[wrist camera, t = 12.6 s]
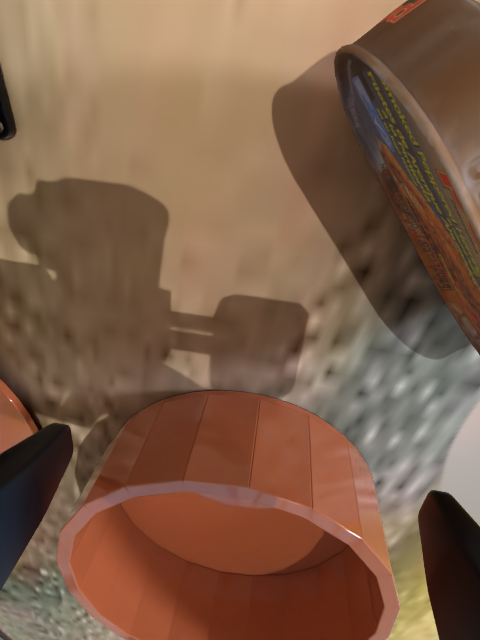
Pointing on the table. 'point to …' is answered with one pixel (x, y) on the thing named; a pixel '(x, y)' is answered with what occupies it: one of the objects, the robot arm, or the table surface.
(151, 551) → the pot
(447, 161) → the tin
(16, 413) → the lid
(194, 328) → the table surface
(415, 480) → the table surface
